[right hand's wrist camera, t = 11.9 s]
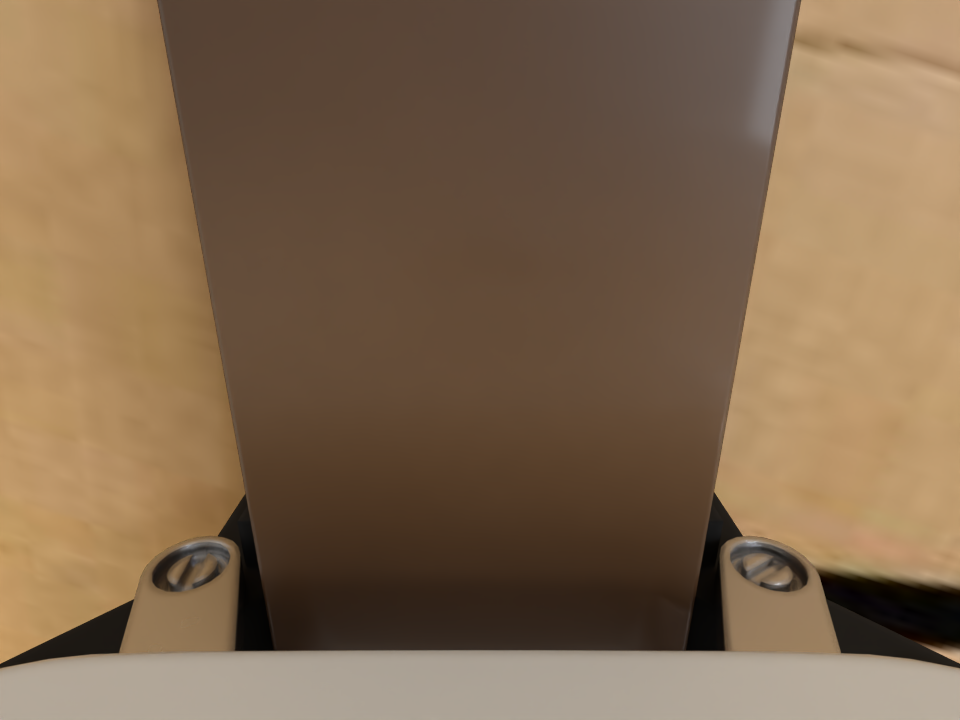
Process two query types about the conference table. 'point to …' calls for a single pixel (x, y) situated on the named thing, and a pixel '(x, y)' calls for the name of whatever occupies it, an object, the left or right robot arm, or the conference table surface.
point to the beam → (479, 301)
